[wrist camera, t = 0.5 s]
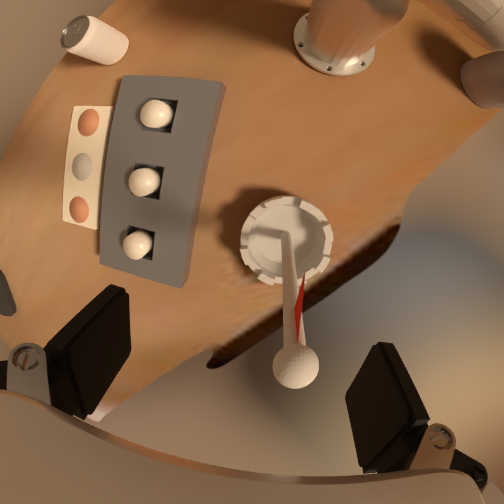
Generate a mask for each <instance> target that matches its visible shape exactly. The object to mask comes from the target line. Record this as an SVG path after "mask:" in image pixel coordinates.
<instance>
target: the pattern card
mask: <svg viewBox="0 0 504 504" xmlns="http://www.w3.org/2000/svg"><path fill="white" fill-rule="evenodd" d="M113 112H114V107H112V106H74V109H73V114H72V120H71V125H70V132H69V138H68V146H67V154H66V163H65V174H64V190H63V221H66V222H70V223H73V224H77V225H80V226H84V227H87V228H91V229H94V230H98V229H100V209H101V195H102V184H103V175H104V166H105V159H106V152H107V145H108V139H109V133H110V127H111V122H112V117H113Z"/></svg>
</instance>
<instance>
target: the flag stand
mask: <svg viewBox="0 0 504 504" xmlns="http://www.w3.org/2000/svg"><path fill="white" fill-rule="evenodd" d="M332 241H334V239H333V232H332V229H331V226H330V224H329V222H328V221H327V219H326V217H325V216H324V214H323V213H322V212H321V211H320V210H319V209H318V207H317V206H315V205H314V204H313V203H311V202H310V201H308V200H306V199H303V198H301V197H297V196H292V195H281V196H276V197H272V198H270V199H267V200H265V201H263V202H262V203H260V204H259V205H257V206H256V207H255V208H254V209H253V210H252V211H251V212H250V214H249V215H248V217H247V219H246V220H245V223H244V225H243V228H242V230H241V247H240V252H241V256H242V259H243V261H244V263H245V265H249V266H250V268H251V269H252V270H253V271H254V272H255V273H256V274H257V275H258V277H257V278H258V279H259V280H261V281H263V282H264V283H267V284H269V285H272V286H273V284H274V283H279V284H283V323H284V348H283V349H281V350H280V351H279V352H278V353H277V355H276V357H275V359H274V361H273V372H274V375H275V377H276V379H277V380H278V381H279V382H280V383H281V384H282V385H284V386H286V387H289V388H302V387H305V386H306V385H308V384H310V383H311V382H312V381H313V380H314V379H315V377H316V375H317V373H318V369H319V362H318V358H317V356H316V354H315V353H314V351H313V350H311V349H310V348H308V347H307V346H306V344H305V336H304V327H303V319H302V302H303V292H304V284H306V283H307V279H308V278H310V277H312V276H313V275H315V274H316V273H317V272H318V271H320V272H321V273H322V271H323V270H324V269H325V268H326V266H327V265H328V263H329V261H330V259H331V258H330V256H329V255H330V251H331V248H332ZM300 285H301V287H300V290H299V288H298V286H300Z"/></svg>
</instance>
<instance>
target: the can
mask: <svg viewBox="0 0 504 504" xmlns="http://www.w3.org/2000/svg"><path fill="white" fill-rule="evenodd" d="M60 42H61V46H62V47H63V48H65V49H66V50H67V51H68V52H70V53H72V54H75V55H78V56H81V57H84V58H87V59H89V60H92V61H95V62H98V63H101V64H103V65H111V64H114V63H116V62H118V61H119V60H120V59H121V58H122V57H123V56H124V55H125V53H126V51H127V49H128V45H129V41H128V38H127V37H126V36H125V35H124V34H122V33H121V32H119V31H117V30H116V29H114V28H112V27H111V26H109V25H107V24H106V23H104V22H102V21H100V20H98V19H97V18H95V17H92V16H84V15H83V16H78V17H76V18H75V19H73V20H72V21H71V22H70V23H69V24H68V25H67V26H66V27H65V29H64V31H63V33H62V35H61V39H60Z"/></svg>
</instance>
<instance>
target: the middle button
mask: <svg viewBox="0 0 504 504" xmlns="http://www.w3.org/2000/svg"><path fill="white" fill-rule="evenodd" d="M161 182H162V178H161V175H160V173H159V171H158V170H157V169H155V168H153V167H147V168H142V169H137V170H135V171H134V172H133V173H132V174H131V175H130V177H129V188H130V190H131V192H132V193H133V194H134V195H136V196H140V197H142V196H146V195H148V194H151V193H153V192H155V191H157V190H158V189H159V188H160V186H161Z"/></svg>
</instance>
